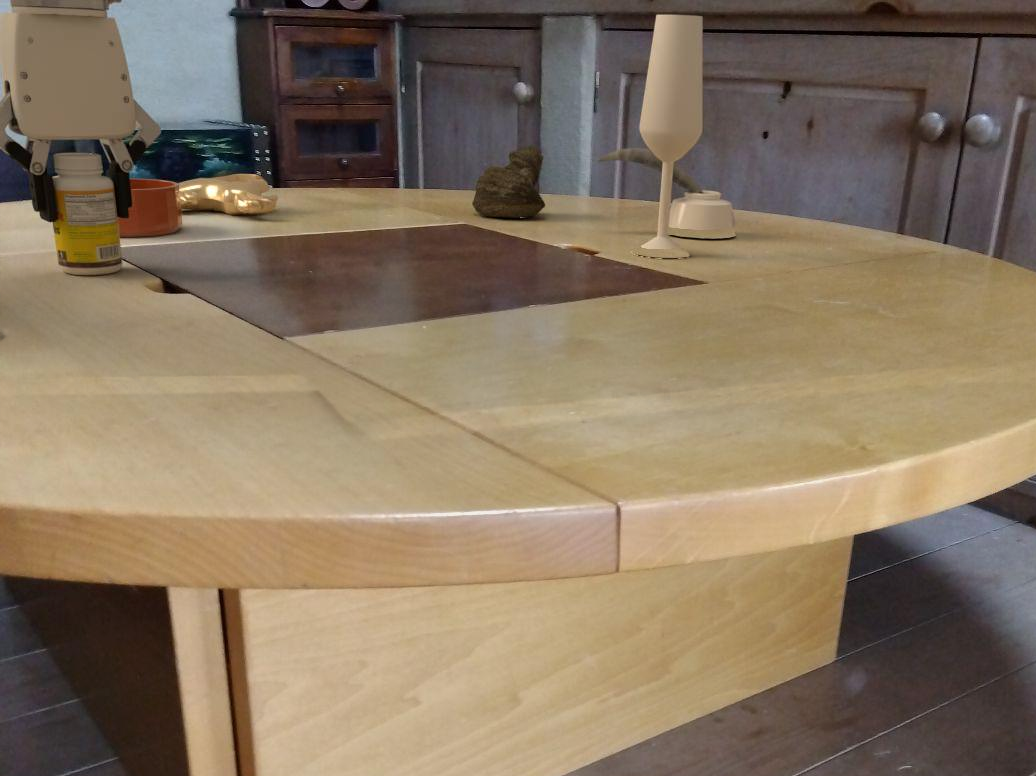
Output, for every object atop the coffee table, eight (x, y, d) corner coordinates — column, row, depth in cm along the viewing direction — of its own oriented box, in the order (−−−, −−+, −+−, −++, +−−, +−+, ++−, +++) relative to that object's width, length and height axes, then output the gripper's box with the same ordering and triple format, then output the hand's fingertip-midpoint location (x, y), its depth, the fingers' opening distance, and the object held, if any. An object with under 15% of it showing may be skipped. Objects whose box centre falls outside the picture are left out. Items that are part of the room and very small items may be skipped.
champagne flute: (620, 250, 126) (634, 14, 117) (671, 248, 129) (690, 17, 119) (649, 260, 120) (667, 13, 111) (703, 257, 123) (725, 16, 114)
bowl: (94, 240, 119) (89, 191, 117) (62, 226, 128) (56, 180, 126) (198, 234, 126) (194, 187, 124) (161, 220, 134) (157, 177, 132)
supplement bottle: (65, 265, 106) (50, 151, 102) (127, 265, 107) (115, 152, 103) (52, 276, 101) (36, 156, 97) (118, 276, 102) (104, 158, 97)
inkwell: (746, 240, 136) (756, 154, 132) (602, 239, 133) (607, 150, 129) (722, 229, 144) (730, 147, 140) (586, 228, 141) (590, 144, 137)
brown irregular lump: (575, 173, 144) (559, 163, 153) (500, 117, 139) (488, 111, 148) (525, 248, 146) (512, 234, 155) (450, 196, 142) (441, 185, 151)
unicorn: (320, 179, 142) (216, 199, 129) (322, 211, 144) (220, 234, 131) (211, 164, 152) (104, 182, 139) (215, 194, 154) (110, 215, 141)
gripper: (143, 3, 102) (163, 208, 109) (-64, -9, 92) (-28, 218, 100) (174, 2, 97) (192, 218, 104) (-43, -11, 87) (-6, 229, 94)
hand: (84, 216), depth 102 cm, fingers closed on supplement bottle, 5 cm apart
